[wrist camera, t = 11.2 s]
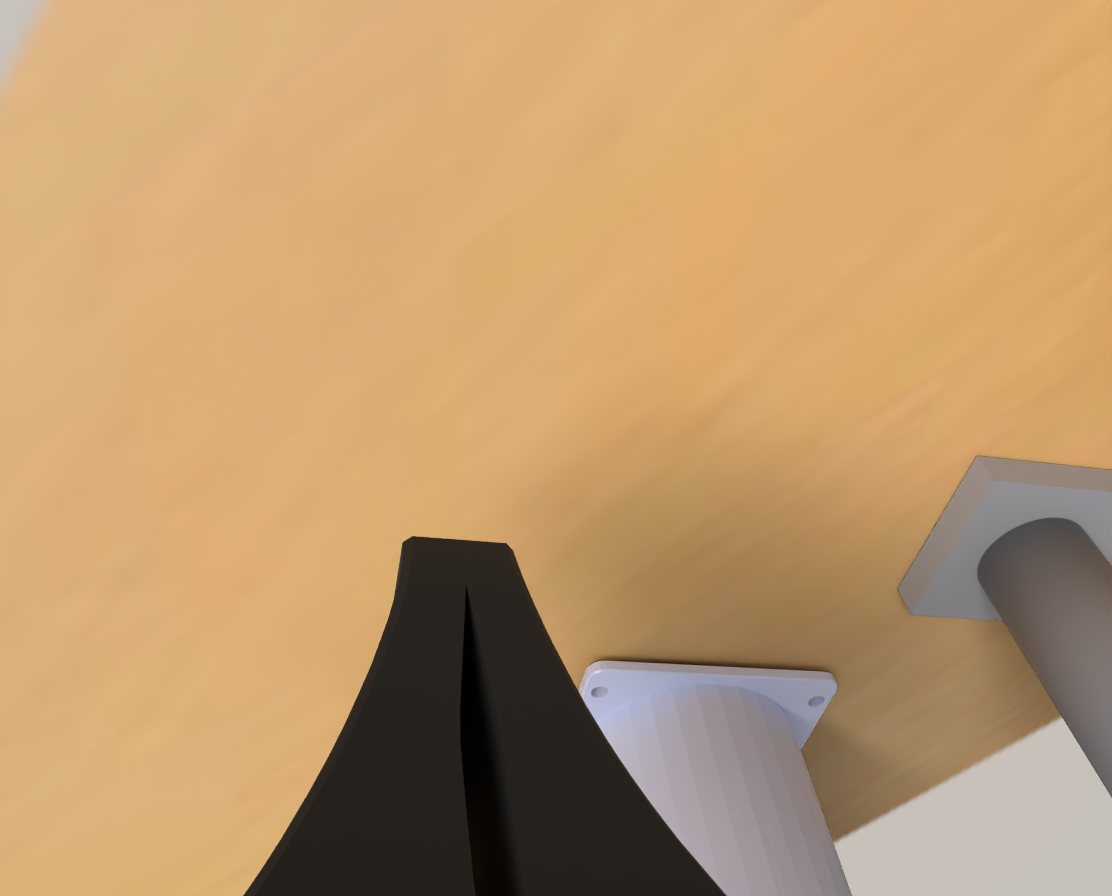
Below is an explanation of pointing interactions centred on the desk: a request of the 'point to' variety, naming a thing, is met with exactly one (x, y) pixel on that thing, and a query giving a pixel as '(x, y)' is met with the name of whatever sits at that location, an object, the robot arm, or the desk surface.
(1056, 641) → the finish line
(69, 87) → the desk surface
